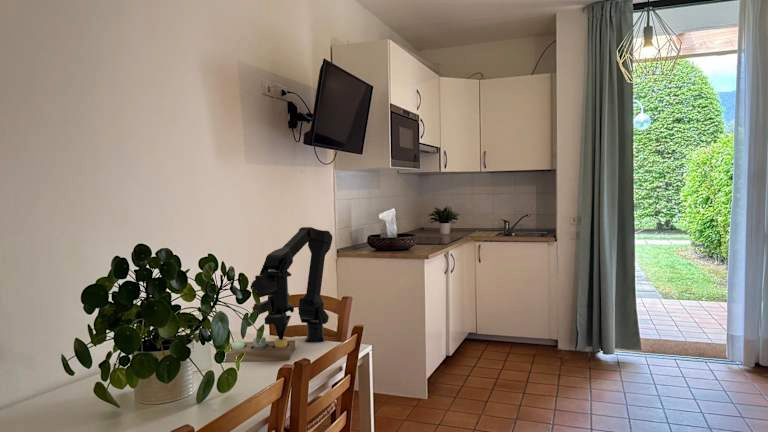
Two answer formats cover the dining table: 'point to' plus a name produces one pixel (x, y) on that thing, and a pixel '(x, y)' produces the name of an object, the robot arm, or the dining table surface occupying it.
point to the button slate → (261, 345)
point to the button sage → (238, 345)
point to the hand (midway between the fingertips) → (281, 339)
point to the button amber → (281, 343)
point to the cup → (202, 353)
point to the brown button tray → (262, 352)
